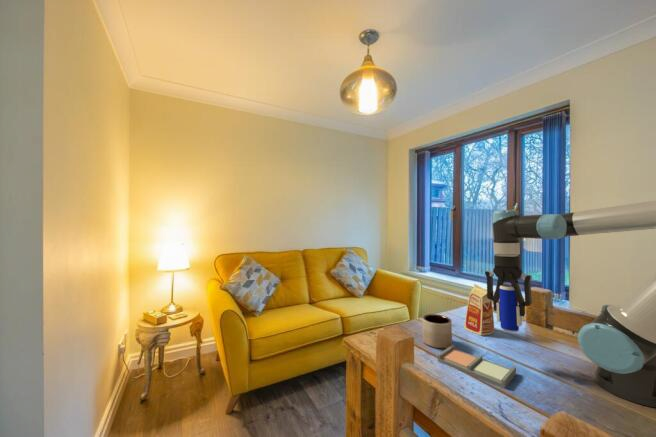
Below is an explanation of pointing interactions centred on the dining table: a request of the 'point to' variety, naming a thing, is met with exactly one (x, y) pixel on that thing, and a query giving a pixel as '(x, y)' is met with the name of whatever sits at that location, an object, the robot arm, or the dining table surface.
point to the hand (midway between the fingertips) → (509, 322)
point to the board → (477, 366)
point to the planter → (437, 331)
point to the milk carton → (479, 312)
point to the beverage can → (508, 308)
